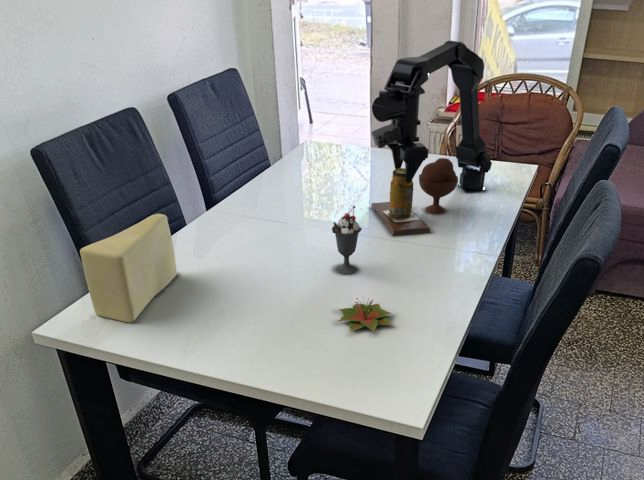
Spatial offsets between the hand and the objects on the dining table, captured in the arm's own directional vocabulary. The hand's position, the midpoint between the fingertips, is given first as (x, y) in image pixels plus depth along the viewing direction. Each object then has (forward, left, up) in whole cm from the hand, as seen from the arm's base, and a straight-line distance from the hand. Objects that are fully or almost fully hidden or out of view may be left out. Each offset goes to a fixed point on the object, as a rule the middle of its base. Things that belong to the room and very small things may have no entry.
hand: (402, 176), depth 170 cm
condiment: (0, +1, -11) cm, 11 cm away
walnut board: (0, 0, -12) cm, 12 cm away
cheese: (+67, +29, -12) cm, 74 cm away
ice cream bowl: (-12, -4, -12) cm, 18 cm away
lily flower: (+24, +49, -12) cm, 56 cm away
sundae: (+22, +26, -12) cm, 36 cm away
